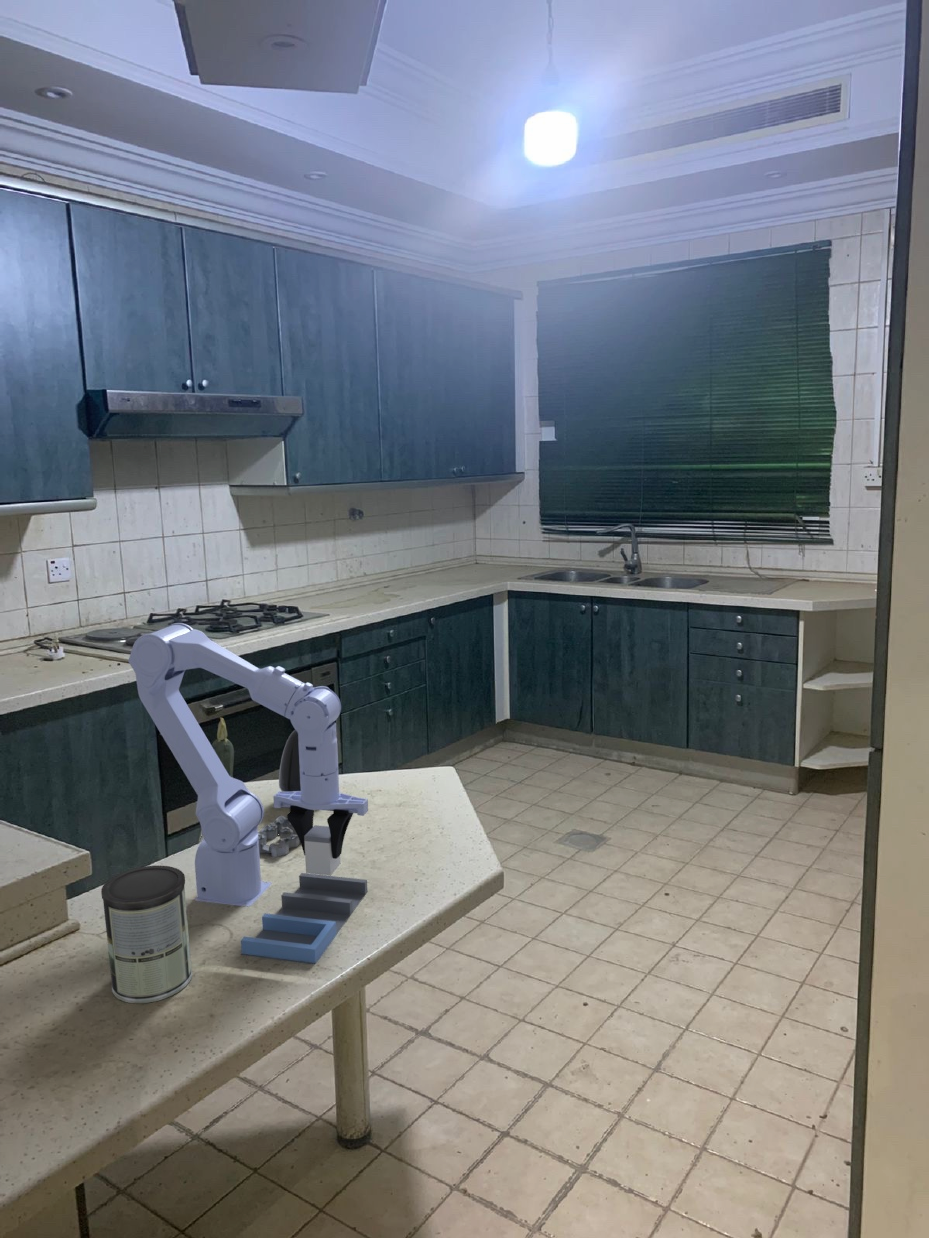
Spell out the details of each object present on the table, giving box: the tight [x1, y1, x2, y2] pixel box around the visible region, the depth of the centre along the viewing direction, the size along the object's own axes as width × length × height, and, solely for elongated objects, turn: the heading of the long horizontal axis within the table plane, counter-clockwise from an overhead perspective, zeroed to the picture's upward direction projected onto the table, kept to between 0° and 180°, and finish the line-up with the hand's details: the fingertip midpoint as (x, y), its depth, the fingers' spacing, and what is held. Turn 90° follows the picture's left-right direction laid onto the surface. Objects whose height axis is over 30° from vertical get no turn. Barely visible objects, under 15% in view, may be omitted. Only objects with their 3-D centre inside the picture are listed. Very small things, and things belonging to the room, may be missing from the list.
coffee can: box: [100, 865, 193, 1004], centre depth 120 cm, size 10×10×14 cm
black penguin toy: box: [278, 729, 301, 792], centre depth 180 cm, size 10×10×15 cm
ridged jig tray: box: [240, 872, 369, 965], centre depth 135 cm, size 11×21×3 cm, turn 166°
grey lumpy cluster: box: [258, 815, 301, 858], centre depth 161 cm, size 11×8×4 cm
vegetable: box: [211, 717, 235, 778], centre depth 171 cm, size 4×4×20 cm
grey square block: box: [304, 824, 341, 876], centre depth 140 cm, size 4×4×6 cm
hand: (322, 854), depth 140 cm, fingers closed on grey square block, 4 cm apart
